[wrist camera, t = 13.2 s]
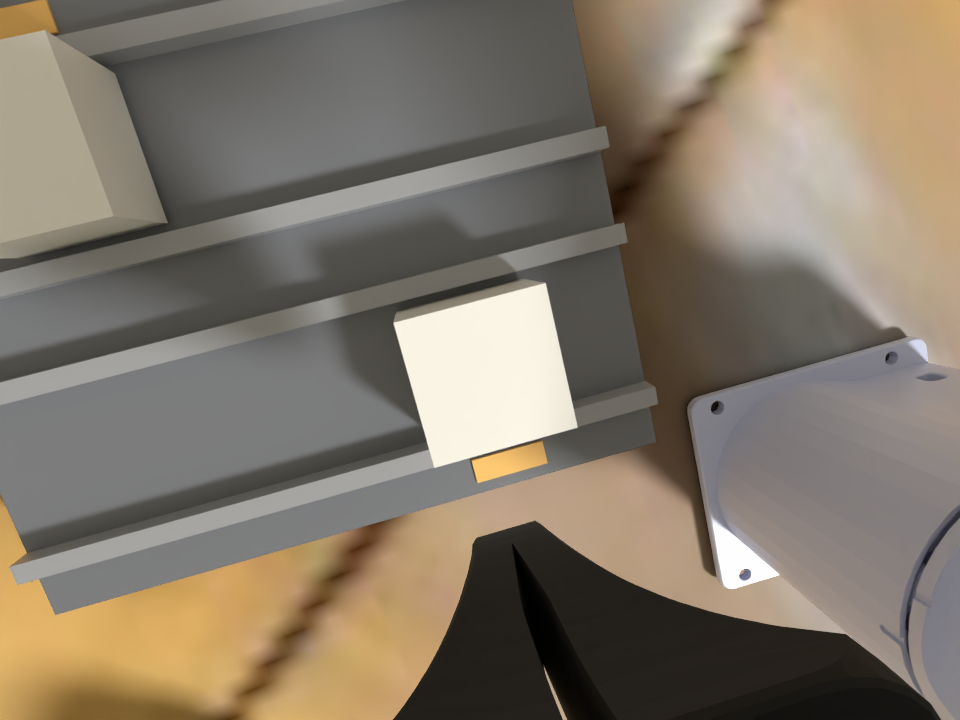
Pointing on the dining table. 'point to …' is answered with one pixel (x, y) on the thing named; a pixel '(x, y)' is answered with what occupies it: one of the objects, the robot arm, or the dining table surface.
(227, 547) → the switch board
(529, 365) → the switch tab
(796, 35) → the dining table surface
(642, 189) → the dining table surface
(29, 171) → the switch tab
